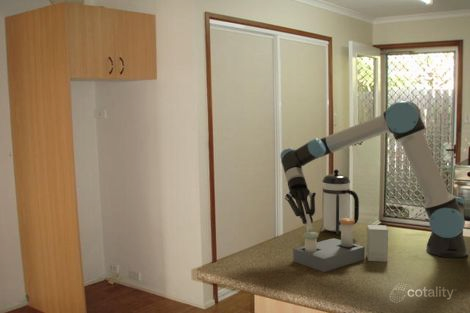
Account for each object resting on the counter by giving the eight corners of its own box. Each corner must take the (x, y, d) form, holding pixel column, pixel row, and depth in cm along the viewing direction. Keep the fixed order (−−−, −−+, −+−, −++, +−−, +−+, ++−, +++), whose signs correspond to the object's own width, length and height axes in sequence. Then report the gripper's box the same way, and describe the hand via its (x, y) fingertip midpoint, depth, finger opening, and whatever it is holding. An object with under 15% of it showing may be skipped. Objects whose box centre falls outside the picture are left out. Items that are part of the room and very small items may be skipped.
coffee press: (320, 235, 221) (320, 171, 217) (319, 227, 236) (319, 167, 233) (358, 236, 218) (359, 172, 215) (355, 228, 233) (356, 167, 230)
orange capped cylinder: (357, 245, 186) (357, 219, 185) (347, 248, 183) (348, 222, 182) (346, 242, 191) (346, 217, 190) (336, 244, 188) (336, 219, 187)
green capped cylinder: (321, 259, 183) (321, 233, 182) (310, 262, 180) (310, 236, 179) (310, 256, 188) (310, 230, 187) (300, 259, 184) (300, 233, 183)
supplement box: (387, 262, 183) (388, 229, 181) (367, 261, 184) (368, 229, 183) (385, 256, 190) (386, 225, 189) (366, 255, 191) (366, 224, 190)
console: (364, 259, 186) (364, 246, 186) (324, 272, 173) (324, 258, 172) (333, 249, 199) (333, 238, 199) (293, 261, 185) (293, 248, 185)
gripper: (308, 185, 202) (323, 234, 187) (279, 187, 199) (291, 236, 185) (313, 175, 196) (329, 224, 181) (283, 176, 193) (296, 226, 179)
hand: (310, 230), depth 183 cm, fingers closed
